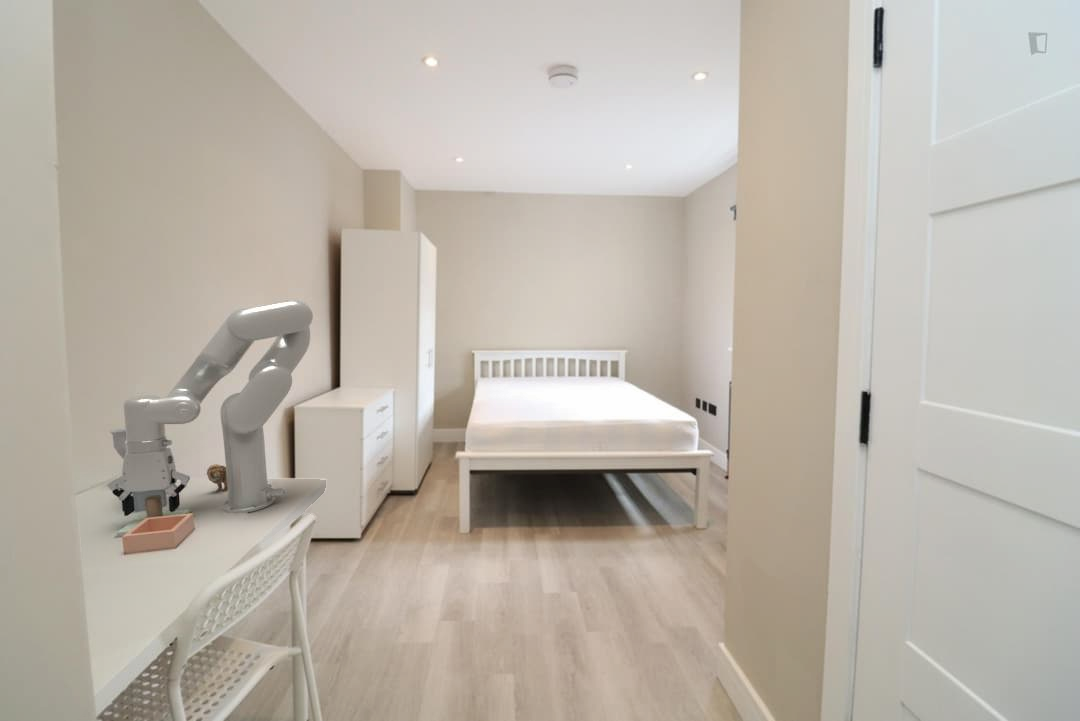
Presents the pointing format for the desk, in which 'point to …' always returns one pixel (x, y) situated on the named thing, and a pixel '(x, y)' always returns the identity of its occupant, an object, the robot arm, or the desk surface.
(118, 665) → the desk surface
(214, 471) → the lion figurine
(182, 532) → the dish
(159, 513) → the lid
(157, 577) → the desk surface
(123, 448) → the chalice
